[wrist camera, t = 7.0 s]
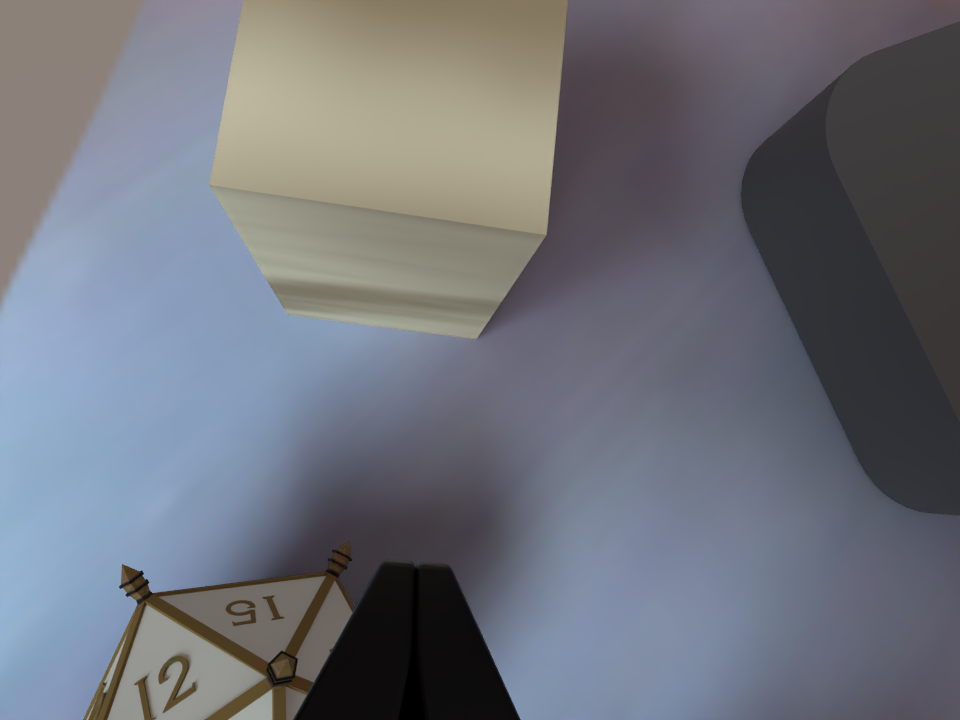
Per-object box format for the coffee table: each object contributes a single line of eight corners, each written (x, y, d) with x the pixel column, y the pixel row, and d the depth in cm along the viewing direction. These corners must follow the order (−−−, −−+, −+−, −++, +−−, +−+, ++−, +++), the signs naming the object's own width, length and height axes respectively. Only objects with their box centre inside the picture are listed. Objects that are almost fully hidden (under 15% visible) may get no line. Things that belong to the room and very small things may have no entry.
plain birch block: (476, 339, 23) (546, 234, 13) (287, 314, 22) (209, 185, 12) (495, 166, 24) (572, -52, 14) (315, 138, 23) (263, -113, 13)
